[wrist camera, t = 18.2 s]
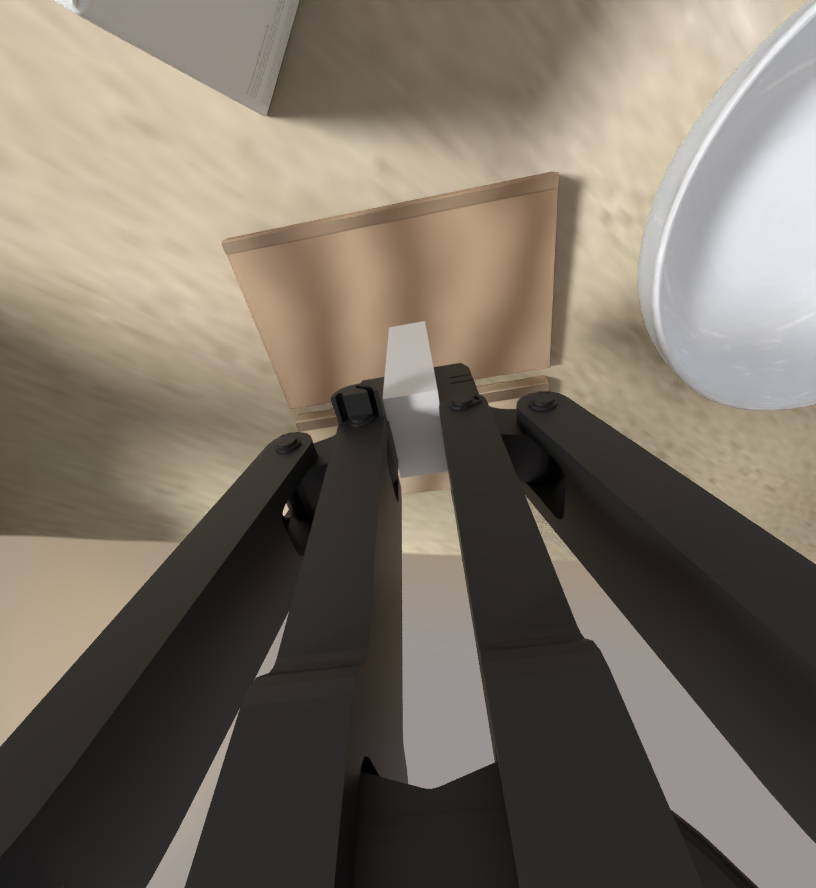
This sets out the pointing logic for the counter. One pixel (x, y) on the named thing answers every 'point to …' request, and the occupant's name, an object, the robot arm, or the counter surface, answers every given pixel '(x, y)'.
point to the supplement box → (205, 39)
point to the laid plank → (497, 397)
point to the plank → (405, 285)
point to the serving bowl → (742, 234)
